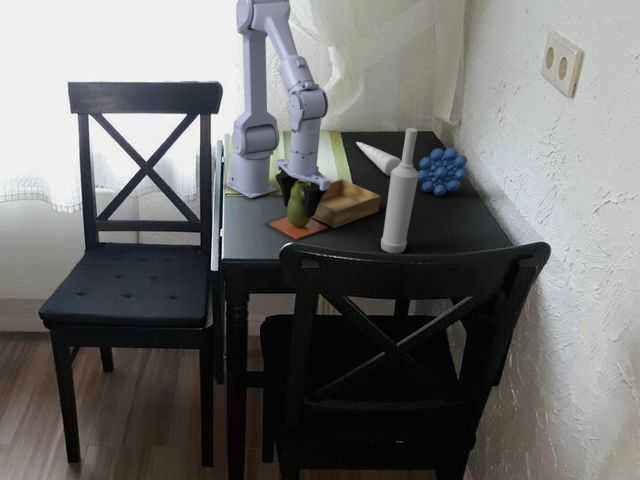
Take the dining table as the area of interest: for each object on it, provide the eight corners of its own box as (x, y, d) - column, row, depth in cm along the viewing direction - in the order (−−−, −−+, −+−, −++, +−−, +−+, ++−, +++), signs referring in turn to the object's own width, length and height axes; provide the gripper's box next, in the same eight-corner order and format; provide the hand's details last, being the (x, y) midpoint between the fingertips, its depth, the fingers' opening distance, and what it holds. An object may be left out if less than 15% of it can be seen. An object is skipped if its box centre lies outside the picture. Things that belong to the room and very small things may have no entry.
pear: (285, 219, 165) (288, 176, 159) (309, 219, 165) (313, 176, 159) (286, 230, 160) (289, 186, 155) (311, 231, 160) (315, 187, 155)
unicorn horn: (369, 143, 207) (371, 126, 204) (401, 176, 187) (404, 158, 184) (352, 144, 206) (354, 127, 203) (383, 177, 186) (385, 159, 184)
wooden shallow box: (295, 208, 171) (297, 193, 168) (339, 193, 178) (341, 178, 176) (334, 227, 162) (335, 211, 160) (378, 211, 170) (381, 195, 168)
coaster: (268, 224, 164) (268, 223, 163) (299, 214, 168) (299, 212, 168) (296, 239, 158) (296, 238, 157) (327, 228, 162) (327, 226, 162)
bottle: (377, 242, 157) (394, 125, 143) (401, 241, 157) (420, 125, 143) (384, 254, 152) (402, 134, 139) (408, 253, 153) (429, 134, 139)
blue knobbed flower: (467, 194, 178) (477, 145, 171) (459, 204, 173) (469, 154, 167) (419, 184, 183) (427, 136, 176) (410, 193, 178) (418, 145, 172)
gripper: (343, 155, 151) (336, 217, 158) (294, 135, 160) (290, 194, 168) (318, 163, 147) (312, 226, 154) (269, 142, 157) (266, 202, 164)
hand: (299, 210), depth 161 cm, fingers open, 6 cm apart
